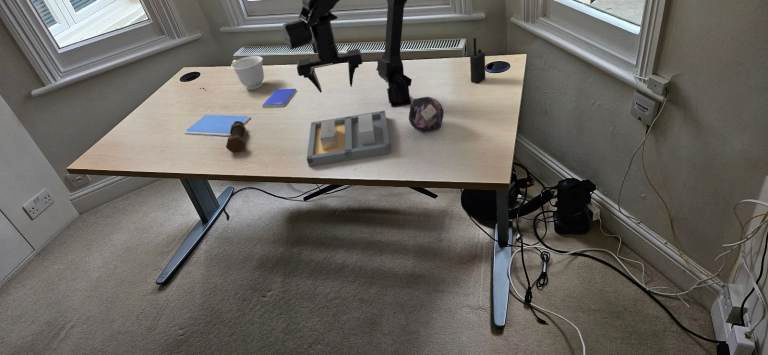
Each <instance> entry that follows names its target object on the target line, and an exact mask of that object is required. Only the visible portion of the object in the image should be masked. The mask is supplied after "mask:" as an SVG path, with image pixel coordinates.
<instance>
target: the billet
mask: <svg viewBox="0 0 768 355" xmlns="http://www.w3.org/2000/svg"><path fill="white" fill-rule="evenodd" d="M331 119H332V120H329V119H325V120H326V121H323V120H321V121H322V122H321V133H320V140H321V144H322V148H323V150H328V149H334V148H337V133H338V131H337V126H336V122H335V119H336V118H331Z"/></svg>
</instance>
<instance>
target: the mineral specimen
mask: <svg viewBox="0 0 768 355" xmlns="http://www.w3.org/2000/svg"><path fill="white" fill-rule="evenodd" d="M408 114H409V115H408V121H409V124H410V125H411V127H412V128H414V129H415V130H417V131H420V132H421V133H429V132H434V131H438V130H440V129H441V127H442V125H443V119H444V108H443V105H442V104H441V103H440V101H439V100H437V99H435V98H433V97H430V96H424V97H417V98H415V99H412V100H411V104H410V106H409V113H408Z"/></svg>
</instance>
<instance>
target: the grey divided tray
mask: <svg viewBox="0 0 768 355" xmlns="http://www.w3.org/2000/svg"><path fill="white" fill-rule="evenodd" d="M332 119H333V118H331V119H328V120H332ZM334 119H335V122H336V126H337V131H338V133H337V148H334V149H328V150H323V148H322V144H321V140H320V133H321V122H322V121H326V120H327V119H325V120H317V121H312V122H311V123H310V130H309V137H308V138H309V139H308V145H307V153H306V161H307V165H308V167H316V166H322V165H326V164H327V165H328V164H333V163H340V162H345V161H352V160H358V159H364V158H372V157H378V156H384V155H390V154H392V149H391V142H390V136H389V128H388V123H387V117H386V110H381V111H374V112H367V113H362V114H361V113H360V114H354V115H349V116H343V117H338V118H337V117H336V118H334Z"/></svg>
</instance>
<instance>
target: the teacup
mask: <svg viewBox="0 0 768 355" xmlns="http://www.w3.org/2000/svg"><path fill="white" fill-rule="evenodd" d="M263 61H264V58H263V57H262V56H259V55H251V56H246V57H242V58H239V59H237V60H236V59H234V60H232V62H231V65H230V67H231V68H232V70H234V71H235V74H236V75H237V76H236V77H237V78H238V80H239V82H240V83H241V84H242V85H243V86H245V87H247V90H257V89H259V88H261V87H262V86H263V83H262V82H263V81H264V79H265V74H264V69H263V68H264V67H263Z"/></svg>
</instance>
